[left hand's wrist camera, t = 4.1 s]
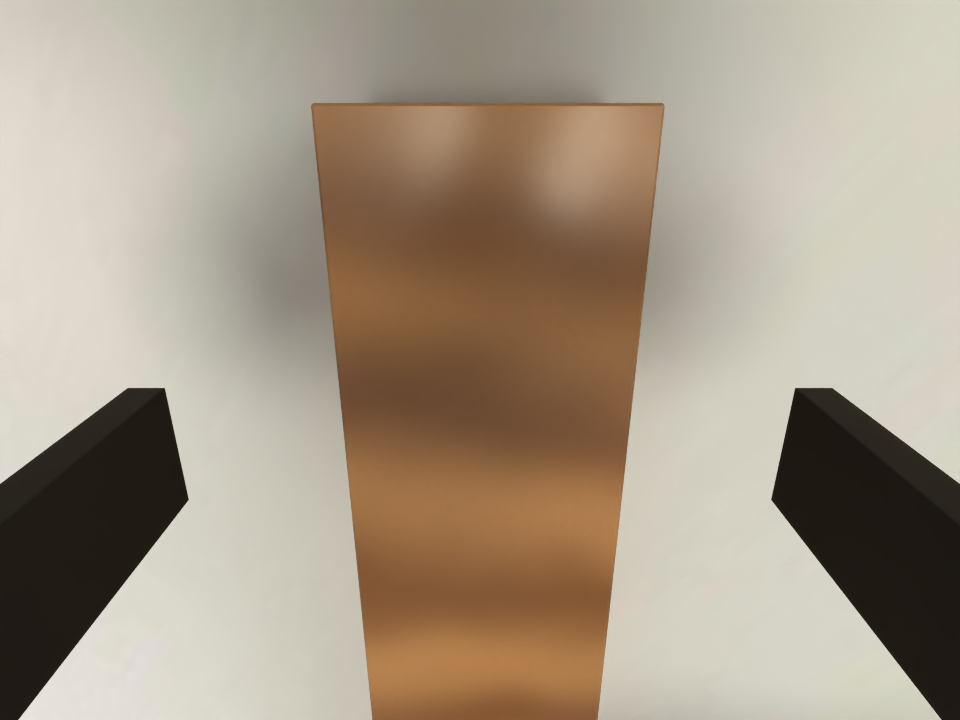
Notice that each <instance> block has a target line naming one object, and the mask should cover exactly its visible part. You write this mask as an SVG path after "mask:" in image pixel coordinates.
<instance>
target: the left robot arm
mask: <svg viewBox="0 0 960 720" xmlns="http://www.w3.org/2000/svg"><path fill="white" fill-rule="evenodd" d="M188 500H189V499H188V494H187V490H186V485H185V481H184V476H183V471H182V467H181V462H180V457H179V453H178V448H177V443H176V439H175V434H174V429H173V425H172V420H171V415H170V411H169V406H168V401H167V397H166V392H165V388H127V389H126V390H125V391H123V392H122V393H121V394H119V395H118V396H117V397H115V398H114V399H113V400H111V401H110V402H109V403H107V404H106V405H105V406H103V407H102V408H101V409H99V410H98V411H97V412H96V413H94V414H93V415H92V416H90V417H89V418H88V419H86V420H85V421H84V422H82V423H81V424H80V425H78V426H77V427H76V428H74V429H73V430H72V431H70V432H69V433H68V434H66V435H65V436H64V437H62V438H61V439H60V440H58V441H57V442H56V443H54V444H53V445H52V446H50V447H49V448H48V449H46V450H45V451H44V452H42V453H41V454H40V455H38V456H37V457H36V458H34V459H33V460H32V461H30V462H29V463H28V464H26V465H25V466H24V467H22V468H21V469H20V470H18V471H17V472H16V473H14V474H13V475H12V476H10V477H9V478H8V479H6V480H5V481H4V482H2V483H1V484H0V720H18V719H19V718H20V717H21V716H22V714H23V713H24V712H25V710H26V709H27V708H28V707H29V705H30V704H31V703H32V701H33V700H34V699H35V697H36V696H37V695H38V694H39V692H40V691H41V690H42V688H43V687H44V686H45V685H46V683H47V682H48V681H49V679H50V678H51V677H52V676H53V674H54V673H55V672H56V670H57V669H58V668H59V666H60V665H61V664H62V663H63V661H64V660H65V659H66V657H67V656H68V655H69V654H70V652H71V651H72V650H73V648H74V647H75V646H76V645H77V643H78V642H79V641H80V639H81V638H82V637H83V636H84V634H85V633H86V632H87V630H88V629H89V628H90V626H91V625H92V624H93V623H94V621H95V620H96V619H97V617H98V616H99V615H100V614H101V612H102V611H103V610H104V608H105V607H106V606H107V605H108V603H109V602H110V601H111V599H112V598H113V597H114V595H115V594H116V593H117V592H118V590H119V589H120V588H121V586H122V585H123V584H124V583H125V581H126V580H127V579H128V577H129V576H130V575H131V574H132V572H133V571H134V570H135V568H136V567H137V566H138V565H139V563H140V562H141V561H142V559H143V558H144V557H145V555H146V554H147V553H148V552H149V550H150V549H151V548H152V546H153V545H154V544H155V543H156V541H157V540H158V539H159V537H160V536H161V535H162V534H163V532H164V531H165V530H166V528H167V527H168V526H169V524H170V523H171V522H172V521H173V519H174V518H175V517H176V515H177V514H178V513H179V512H180V510H181V509H182V508H183V506H184V505H185V504H186V503H187V501H188ZM771 500H772V501H773V503H774V504H775V505H776V506H777V508H778V509H779V510H780V512H781V513H782V514H783V515H784V517H785V518H786V519H787V521H788V522H789V523H790V524H791V526H792V527H793V528H794V530H795V531H796V532H797V534H798V535H799V536H800V537H801V539H802V540H803V541H804V543H805V544H806V545H807V546H808V548H809V549H810V550H811V552H812V553H813V554H814V555H815V557H816V558H817V559H818V561H819V562H820V563H821V565H822V566H823V567H824V568H825V570H826V571H827V572H828V574H829V575H830V576H831V577H832V579H833V580H834V581H835V583H836V584H837V585H838V586H839V588H840V589H841V590H842V592H843V593H844V594H845V595H846V597H847V598H848V599H849V601H850V602H851V603H852V605H853V606H854V607H855V608H856V610H857V611H858V612H859V614H860V615H861V616H862V617H863V619H864V620H865V621H866V623H867V624H868V625H869V626H870V628H871V629H872V630H873V632H874V633H875V634H876V636H877V637H878V638H879V639H880V641H881V642H882V643H883V645H884V646H885V647H886V648H887V650H888V651H889V652H890V654H891V655H892V656H893V657H894V659H895V660H896V661H897V663H898V664H899V665H900V666H901V668H902V669H903V670H904V672H905V673H906V674H907V676H908V677H909V678H910V679H911V681H912V682H913V683H914V685H915V686H916V687H917V688H918V690H919V691H920V692H921V694H922V695H923V696H924V697H925V699H926V700H927V701H928V703H929V704H930V705H931V707H932V708H933V709H934V710H935V712H936V713H937V714H938V716H939V717H940V718H941V719H942V720H960V484H959V483H958V482H956V481H955V480H954V479H952V478H951V477H950V476H948V475H947V474H946V473H944V472H943V471H942V470H940V469H939V468H938V467H936V466H935V465H934V464H932V463H931V462H930V461H928V460H927V459H926V458H924V457H923V456H922V455H920V454H919V453H918V452H916V451H915V450H914V449H912V448H911V447H910V446H908V445H907V444H906V443H904V442H903V441H902V440H900V439H899V438H898V437H896V436H895V435H894V434H892V433H891V432H890V431H888V430H887V429H886V428H884V427H883V426H882V425H880V424H879V423H878V422H876V421H875V420H874V419H872V418H871V417H870V416H868V415H867V414H866V413H864V412H863V411H862V410H860V409H859V408H858V407H857V406H855V405H854V404H853V403H851V402H850V401H849V400H847V399H846V398H845V397H843V396H842V395H841V394H839V393H838V392H837V391H835V390H834V389H833V388H795V392H794V397H793V401H792V406H791V411H790V415H789V420H788V425H787V429H786V434H785V439H784V443H783V448H782V453H781V457H780V462H779V467H778V471H777V476H776V480H775V485H774V490H773V494H772V499H771Z"/></svg>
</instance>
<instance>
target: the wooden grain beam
mask: <svg viewBox="0 0 960 720" xmlns="http://www.w3.org/2000/svg"><path fill="white" fill-rule="evenodd" d="M311 110H312V120H313V130H314V140H315V150H316V160H317V170H318V180H319V190H320V200H321V210H322V220H323V230H324V240H325V250H326V260H327V270H328V280H329V290H330V299H331V309H332V319H333V329H334V339H335V349H336V359H337V369H338V379H339V389H340V399H341V409H342V419H343V429H344V439H345V449H346V459H347V469H348V479H349V489H350V499H351V509H352V519H353V529H354V539H355V549H356V559H357V569H358V579H359V589H360V599H361V609H362V619H363V629H364V639H365V649H366V659H367V669H368V679H369V689H370V699H371V709H372V719H373V720H597V719H598V710H599V701H600V691H601V682H602V673H603V664H604V655H605V646H606V637H607V627H608V618H609V609H610V600H611V591H612V582H613V573H614V563H615V554H616V545H617V536H618V527H619V518H620V509H621V500H622V490H623V481H624V472H625V463H626V454H627V445H628V436H629V426H630V417H631V408H632V399H633V390H634V381H635V372H636V362H637V353H638V344H639V335H640V326H641V317H642V308H643V298H644V289H645V280H646V271H647V262H648V253H649V244H650V234H651V225H652V216H653V207H654V198H655V189H656V180H657V170H658V161H659V152H660V143H661V134H662V125H663V116H664V104H663V103H313V104H312V105H311Z"/></svg>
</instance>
